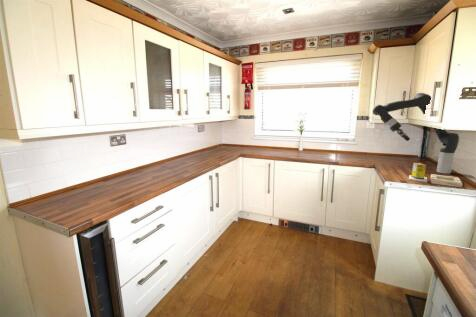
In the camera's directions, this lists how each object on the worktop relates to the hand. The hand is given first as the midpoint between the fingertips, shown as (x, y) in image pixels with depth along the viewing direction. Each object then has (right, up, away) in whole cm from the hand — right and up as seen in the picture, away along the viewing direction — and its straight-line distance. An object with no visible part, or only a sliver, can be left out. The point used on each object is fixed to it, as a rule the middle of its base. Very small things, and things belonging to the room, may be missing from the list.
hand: (408, 139), depth 185 cm
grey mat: (+3, -30, -6) cm, 31 cm away
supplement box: (+3, -30, -6) cm, 30 cm away
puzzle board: (+17, -32, -13) cm, 38 cm away
